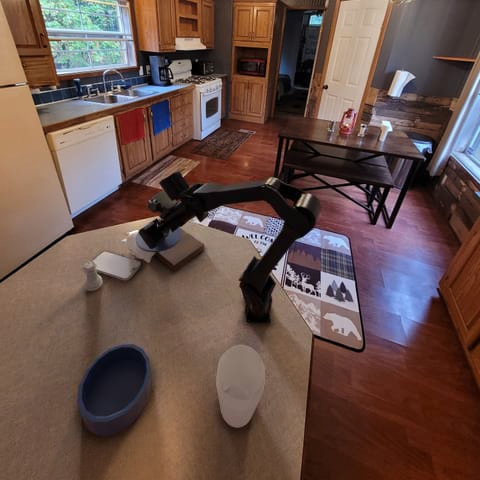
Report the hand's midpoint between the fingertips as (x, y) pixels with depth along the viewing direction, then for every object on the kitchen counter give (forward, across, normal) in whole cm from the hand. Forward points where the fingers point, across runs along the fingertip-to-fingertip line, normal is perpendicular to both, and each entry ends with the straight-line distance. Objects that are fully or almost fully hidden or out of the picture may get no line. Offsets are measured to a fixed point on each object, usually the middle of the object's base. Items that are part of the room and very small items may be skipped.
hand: (155, 230), depth 78 cm
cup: (-19, +21, +37) cm, 46 cm away
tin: (-4, +30, +21) cm, 37 cm away
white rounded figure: (+15, -1, -3) cm, 16 cm away
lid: (0, 0, +2) cm, 2 cm away
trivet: (+7, -7, +10) cm, 15 cm away
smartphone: (+16, +8, +2) cm, 18 cm away
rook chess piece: (+16, +16, +2) cm, 22 cm away
